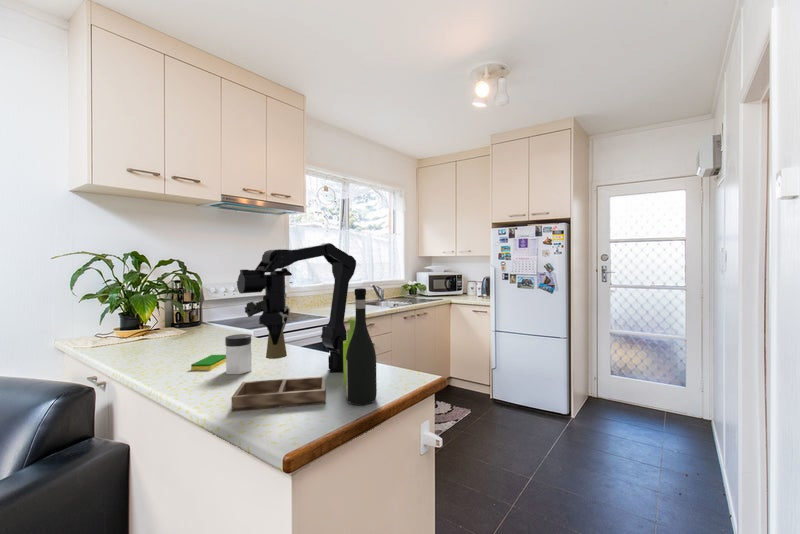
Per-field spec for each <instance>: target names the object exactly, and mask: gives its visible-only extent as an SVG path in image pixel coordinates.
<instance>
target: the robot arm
mask: <svg viewBox="0 0 800 534" xmlns="http://www.w3.org/2000/svg"><path fill="white" fill-rule="evenodd" d="M318 257H323V258H324V259H325V260H326V262H328V263H329V264H330V265H331V273H332V276H333V279H334V283H333V291H332V300H331V307H330V314H329V322H328V323H327V324H326V326H325V325H322V328H321V335H320V338H321V343H322V344H323V345H324V347H325V348H326V351H327V352H329V355H328V357H327V358H328V362H327V363H328V370H329V373H340V372H342V373H343V341H345V340H347V328H346V326H345V314H346V308H347V300H348V299H347V298H348V292H349V283H350V281H351V279H352V278H353V276H354V274H355V272H356V271H355V270H356V267H357V260H356V259H355V257H354V256H353V255H350V254H348V253H347V252H346V251H343V250H342V249H340V248H338V247H337V246H336V245H335V244H333V243H330V242H327V243H325V242H324V243H321V244H318V245H317V244H316V245H312V246H307V247H306V246H305V247H301V248H300V247H299V248H294V249H281V248H280V249H279V248H278V249H269V250H265V251H264V253H263V254H262V256H261V260H260V262H259V264H257V266H256V267H255V269H239V274H238V278H237V280H236V287H237V290H238V292H239V294H241V295H243V294H253V293H254V294H255V293H262V292H263V290H265V293H264V295H263V296H262V300H259V301H257V302H255V301H254V300H252V301H250V302H248V303H246V306H244V313H245V314H246V315H247V317H248V318H251V317H254V316H255V315H257V314H261V313H262V314H261V315H260V316H259V319H258V323H259V325H263V326H265V327H266V329H267V328H268V329H269V331H268V333H269V332H270V335H271V339H272V342H273V345H277V343H278V340H279V338H280V335H281V332H282V329H283V326H284V323H285V326H286V324H287V322H288V319H289V316H290V315H291V308H290V307H289V306H288V305H286V298H287V293H286V276H289V277H291V276H292V275H293V273H292V272H291V271H289V270H288V268H287V267H288V266H291V265H293V264H294V263H297V262H298V261H304V260H309V259H313V258H318ZM278 269H280V270H278ZM265 273H269V274H265ZM285 315H286V316H285Z"/></svg>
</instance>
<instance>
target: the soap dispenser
mask: <svg viewBox="0 0 800 534" xmlns="http://www.w3.org/2000/svg"><path fill="white" fill-rule="evenodd" d="M347 322H349V328H348V329H346V331H347V340H345V341H343V372H342V373H343V386H344V387H345V386H346V354H347V349H348V346H349V343H350V340H351V338H352V335H353V332H354V328H355V322H356V317H350V318H348V319H347Z"/></svg>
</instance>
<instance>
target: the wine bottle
mask: <svg viewBox="0 0 800 534" xmlns="http://www.w3.org/2000/svg"><path fill="white" fill-rule="evenodd" d="M354 296H355V299H354V300H355V301H354V302H355V304H354V306H355V318H356V321H355V328H354V332H353V335H352V338H351V340H350V343H349V346H348V349H347V354H346V387H345V389H346V390H345V392H346V393H345V395H346V400H347V402H348V403H349V404H352V405H354V406H355V405H356V406H364V405H365V406H366V405H369V404H372V403H373V402H374V401H375V400H376V399H377V394H378V393H377V391H378V390H377V389H378V388H377V386H378V385H377V384H378V383H377V355H376V349H375V346H374V345H375V344H374V343H373V340H372V338H371V335H370V333H369V330H368V326H367V320H366V319H367V315H366V296H367V288H365V287H362V288H361V287H360V288H358V287H357V288H355V289H354Z"/></svg>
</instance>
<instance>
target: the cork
mask: <svg viewBox="0 0 800 534" xmlns="http://www.w3.org/2000/svg"><path fill="white" fill-rule="evenodd" d="M285 327H286V325H285V323H284V326H283V329H282V332H281V335H280V338H279V340H278V343H277V345H273V342H272V339H271V335H270V332H269V329H268V328H267V327H266V329H267V331H268V335H267V336H268V338H267V344H266V345H267V346H266V353H265V358H266V359H269V360H275V359H276V360H277V359H278V360H279V359H283V358H286V357H287V356H288V354H287V346H286V341H285V335H284V334H285V333H284V330H285Z"/></svg>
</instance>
